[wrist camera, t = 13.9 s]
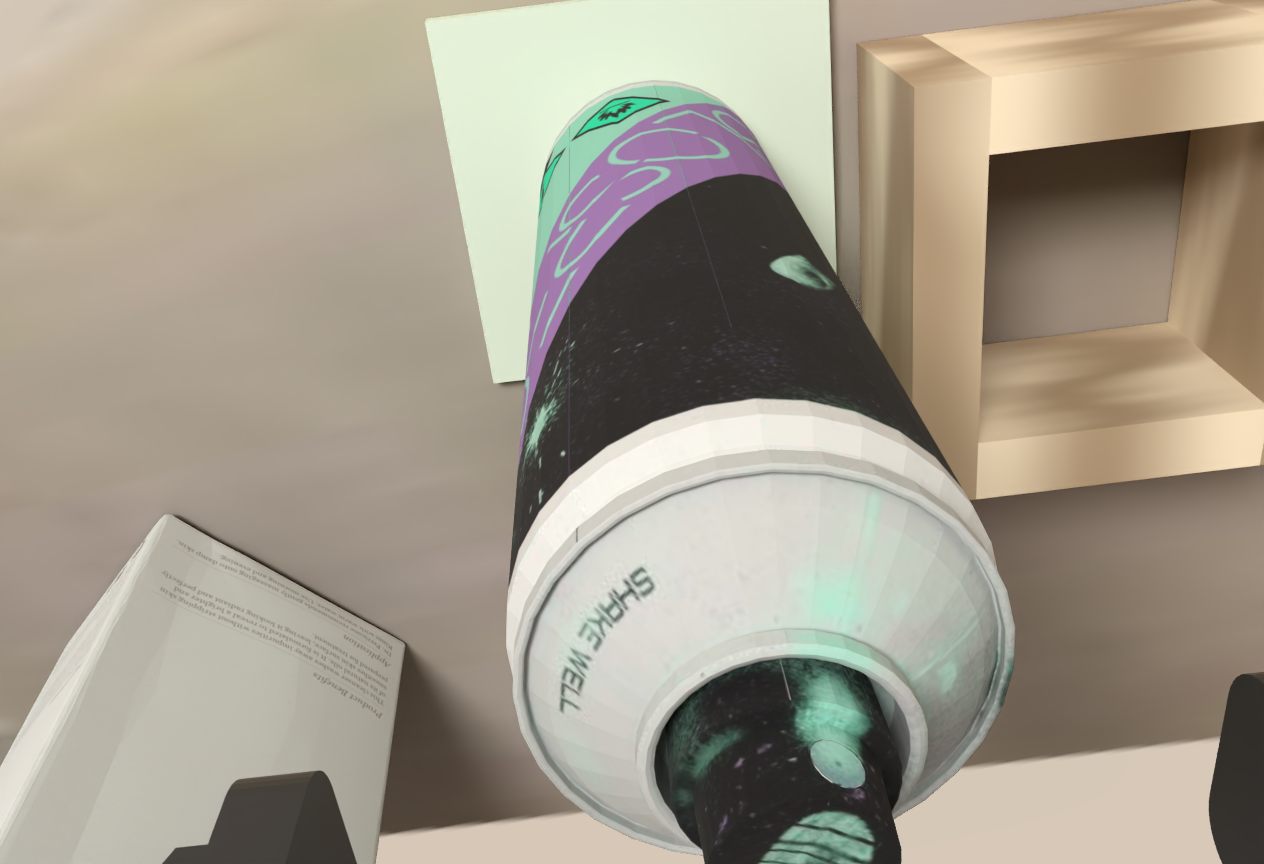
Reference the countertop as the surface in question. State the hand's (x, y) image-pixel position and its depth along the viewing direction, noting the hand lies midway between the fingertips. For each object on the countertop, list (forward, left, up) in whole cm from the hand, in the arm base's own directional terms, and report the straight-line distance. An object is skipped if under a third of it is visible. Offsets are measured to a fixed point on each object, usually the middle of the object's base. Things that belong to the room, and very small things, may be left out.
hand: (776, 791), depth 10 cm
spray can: (0, 0, -20) cm, 20 cm away
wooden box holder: (-10, +2, -20) cm, 22 cm away
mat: (0, 0, -20) cm, 20 cm away
